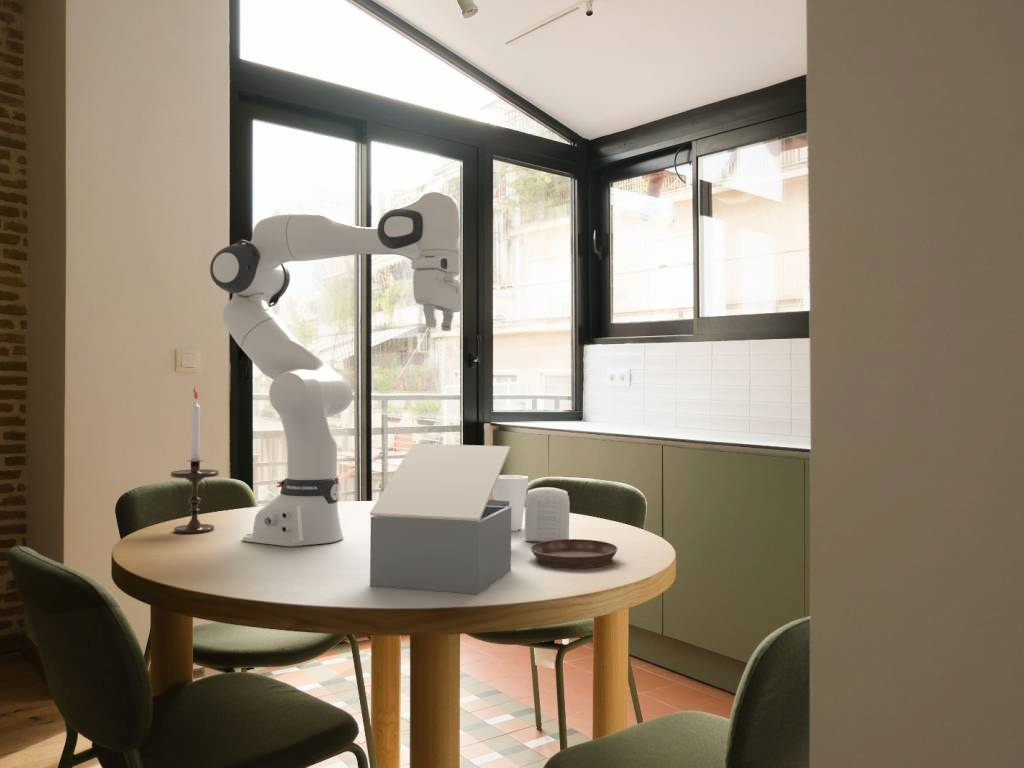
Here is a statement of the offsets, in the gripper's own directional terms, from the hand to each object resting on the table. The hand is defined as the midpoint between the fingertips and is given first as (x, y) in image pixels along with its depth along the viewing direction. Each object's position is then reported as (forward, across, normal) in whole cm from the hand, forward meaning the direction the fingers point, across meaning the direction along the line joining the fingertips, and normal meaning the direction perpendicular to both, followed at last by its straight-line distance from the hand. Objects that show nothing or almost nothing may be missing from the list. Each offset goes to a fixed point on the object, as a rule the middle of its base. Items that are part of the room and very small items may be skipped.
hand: (438, 329), depth 174 cm
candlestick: (+48, -2, -64) cm, 80 cm away
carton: (+48, +26, +11) cm, 56 cm away
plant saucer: (+48, +4, +31) cm, 58 cm away
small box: (+48, 0, +12) cm, 50 cm away
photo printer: (+48, -15, +21) cm, 55 cm away
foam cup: (+48, -29, +8) cm, 57 cm away
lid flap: (+30, +27, +11) cm, 42 cm away
